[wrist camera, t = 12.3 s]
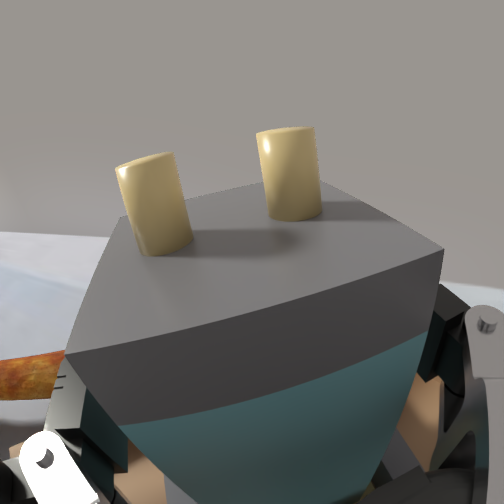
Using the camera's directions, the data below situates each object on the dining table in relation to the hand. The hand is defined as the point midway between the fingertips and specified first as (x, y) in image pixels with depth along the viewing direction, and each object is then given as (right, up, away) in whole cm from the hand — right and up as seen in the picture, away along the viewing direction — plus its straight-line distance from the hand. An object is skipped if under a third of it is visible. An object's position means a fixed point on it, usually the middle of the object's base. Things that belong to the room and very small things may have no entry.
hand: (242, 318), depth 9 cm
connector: (+2, -8, +2) cm, 9 cm away
